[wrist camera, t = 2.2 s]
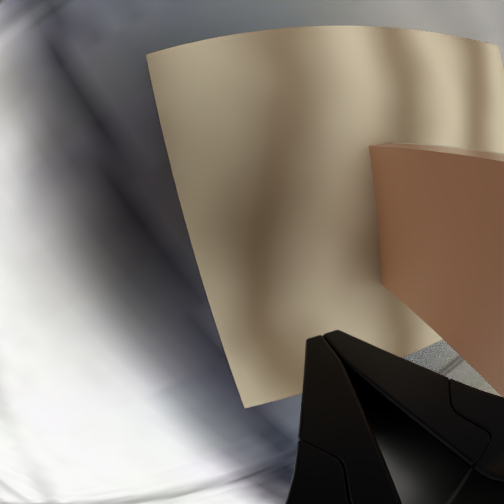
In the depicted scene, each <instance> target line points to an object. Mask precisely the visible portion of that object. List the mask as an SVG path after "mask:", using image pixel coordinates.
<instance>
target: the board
mask: <svg viewBox="0 0 504 504" xmlns="http://www.w3.org/2000/svg"><path fill="white" fill-rule="evenodd" d="M146 57H147V62H148V68H149V72H150V77H151V82H152V87H153V92H154V96H155V101H156V106H157V110H158V115H159V119H160V123H161V128H162V132H163V136H164V141H165V145H166V149H167V153H168V157H169V161H170V165H171V169H172V173H173V177H174V181H175V185H176V189H177V193H178V196H179V200H180V204H181V208H182V211H183V215H184V219H185V222H186V226H187V230H188V233H189V237H190V240H191V244H192V247H193V251H194V254H195V258H196V261H197V265H198V268H199V271H200V275H201V278H202V281H203V285H204V288H205V291H206V294H207V298H208V301H209V304H210V307H211V310H212V314H213V317H214V320H215V323H216V326H217V329H218V332H219V335H220V338H221V341H222V344H223V347H224V350H225V353H226V356H227V359H228V362H229V365H230V368H231V371H232V374H233V377H234V380H235V383H236V385H237V388H238V391H239V394H240V397H241V399H242V402H243V405H244V408H248V407H252V406H257V405H261V404H265V403H269V402H272V401H276V400H280V399H284V398H287V397H291V396H294V395H298V394H301V393H302V389H303V376H304V362H305V346H306V340H307V339H308V338H311V337H315V336H318V335H322V336H323V335H324V334H325V333H328V332H331V331H334V330H341V331H343V332H345V333H347V334H349V335H352V336H354V337H356V338H358V339H360V340H363V341H365V342H367V343H369V344H372V345H374V346H376V347H378V348H381V349H383V350H385V351H387V352H390V353H392V354H394V355H396V356H399V357H401V358H402V357H405V356H407V355H409V354H412V353H414V352H416V351H418V350H421V349H423V348H425V347H427V346H429V345H432V344H434V343H436V342H438V341H440V340H442V338H441V337H440V336H439V335H438V334H437V333H436V332H435V331H434V330H433V329H432V328H431V327H429V326H428V325H427V324H426V323H425V322H424V321H423V320H422V319H421V318H420V317H418V316H417V315H416V314H415V313H414V312H413V311H412V310H411V309H410V308H408V307H407V306H406V305H405V304H404V303H403V302H402V301H401V300H399V299H398V298H397V297H396V296H395V295H394V294H393V293H391V292H390V291H389V290H388V289H387V288H386V287H384V286H383V285H382V284H381V260H380V244H379V230H378V218H377V208H376V198H375V190H374V181H373V174H372V166H371V159H370V153H369V146H370V145H377V144H385V143H392V142H402V143H417V144H430V145H442V146H452V147H461V148H470V149H477V150H485V151H492V152H499V153H504V66H503V62H502V58H501V54H500V50H499V46H496V45H492V44H488V43H484V42H480V41H476V40H471V39H467V38H462V37H457V36H452V35H446V34H440V33H433V32H427V31H419V30H410V29H401V28H389V27H373V26H310V27H293V28H281V29H271V30H262V31H254V32H247V33H240V34H234V35H228V36H222V37H216V38H211V39H206V40H201V41H197V42H192V43H188V44H184V45H179V46H175V47H171V48H168V49H164V50H160V51H157V52H153V53H150V54H146Z"/></svg>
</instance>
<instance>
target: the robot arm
mask: <svg viewBox="0 0 504 504" xmlns="http://www.w3.org/2000/svg"><path fill="white" fill-rule="evenodd" d="M285 504H504V397H501V396H497V395H494V394H491V393H487V392H484V391H481V390H479V389H476V388H473V387H470V386H468V385H465V384H463V383H460V382H458V381H455V380H453V379H450V380H449V379H448V377H445V376H443V375H441V374H438V373H436V372H434V371H431V370H429V369H427V368H424V367H422V366H420V365H417V364H415V363H413V362H410V361H408V360H406V359H403V358H401V357H399V356H396V355H394V354H392V353H390V352H387V351H385V350H383V349H381V348H378V347H376V346H374V345H372V344H369V343H367V342H365V341H363V340H360V339H358V338H356V337H354V336H352V335H349V334H347V333H345V332H343V331H341V330H334V331H331V332H328V333H325V334H324V335H323V336H322V335H318V336H315V337H311V338H308V339H307V340H306V346H305V362H304V376H303V389H302V402H301V413H300V424H299V434H298V442H297V451H296V459H295V465H294V471H293V477H292V480H291V484H290V488H289V492H288V495H287V499H286V502H285Z"/></svg>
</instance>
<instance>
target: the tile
mask: <svg viewBox="0 0 504 504" xmlns="http://www.w3.org/2000/svg"><path fill="white" fill-rule="evenodd" d="M369 153H370V159H371V166H372V174H373V181H374V190H375V198H376V208H377V218H378V230H379V244H380V260H381V284H382V285H383V286H384V287H386V288H387V289H388V290H389V291H390V292H391V293H393V294H394V295H395V296H396V297H397V298H398V299H399V300H401V301H402V302H403V303H404V304H405V305H406V306H407V307H408V308H410V309H411V310H412V311H413V312H414V313H415V314H416V315H417V316H418V317H420V318H421V319H422V320H423V321H424V322H425V323H426V324H427V325H428V326H429V327H431V328H432V329H433V330H434V331H435V332H436V333H437V334H438V335H439V336H440V337H441V338H442V339H444V340H445V341H446V342H447V343H448V344H449V345H450V346H451V347H452V348H453V349H454V350H455V351H456V352H457V353H458V354H459V355H460V356H461V357H463V358H464V359H465V360H466V361H467V362H468V363H469V364H470V365H471V366H472V367H473V368H474V369H475V370H476V371H477V372H478V373H479V374H480V375H481V376H482V377H483V378H484V379H485V380H486V381H487V382H488V383H489V384H490V385H491V386H492V387H493V388H494V389H495V390H496V391H497V392H498V393H499V394H500V395H501V396H502V397H504V153H499V152H492V151H485V150H477V149H470V148H461V147H452V146H442V145H430V144H417V143H402V142H392V143H385V144H377V145H370V146H369Z"/></svg>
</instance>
